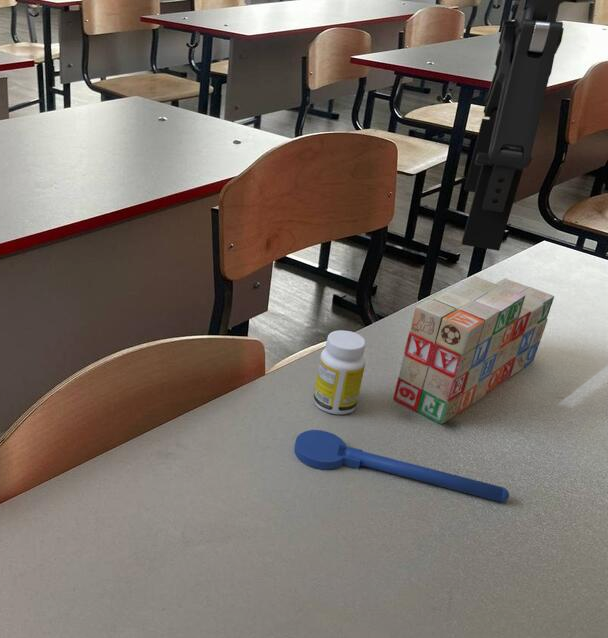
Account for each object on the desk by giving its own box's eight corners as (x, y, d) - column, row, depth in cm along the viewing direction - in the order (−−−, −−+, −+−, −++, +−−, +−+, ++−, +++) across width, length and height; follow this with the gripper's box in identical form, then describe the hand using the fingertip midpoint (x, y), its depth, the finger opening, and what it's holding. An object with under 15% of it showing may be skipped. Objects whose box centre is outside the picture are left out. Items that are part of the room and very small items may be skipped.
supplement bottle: (356, 395, 87) (370, 332, 83) (355, 419, 83) (370, 354, 79) (313, 388, 88) (325, 325, 84) (311, 411, 84) (323, 346, 80)
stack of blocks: (486, 341, 98) (512, 254, 92) (534, 362, 94) (565, 273, 88) (391, 399, 86) (415, 304, 80) (441, 426, 82) (470, 328, 76)
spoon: (506, 485, 74) (510, 474, 74) (507, 520, 70) (512, 508, 69) (299, 432, 81) (301, 421, 80) (289, 461, 76) (291, 450, 76)
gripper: (496, -70, 65) (439, 168, 76) (505, -58, 45) (425, 265, 56) (593, -66, 63) (520, 179, 73) (649, -51, 43) (537, 285, 53)
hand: (479, 217), depth 65 cm, fingers open, 13 cm apart
